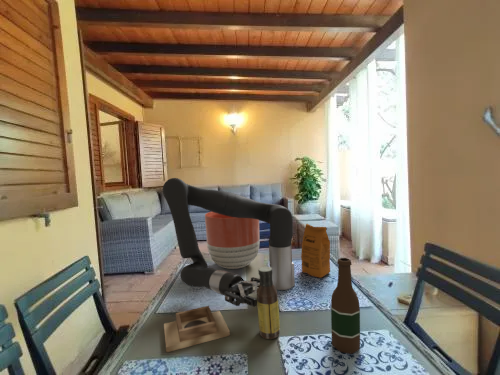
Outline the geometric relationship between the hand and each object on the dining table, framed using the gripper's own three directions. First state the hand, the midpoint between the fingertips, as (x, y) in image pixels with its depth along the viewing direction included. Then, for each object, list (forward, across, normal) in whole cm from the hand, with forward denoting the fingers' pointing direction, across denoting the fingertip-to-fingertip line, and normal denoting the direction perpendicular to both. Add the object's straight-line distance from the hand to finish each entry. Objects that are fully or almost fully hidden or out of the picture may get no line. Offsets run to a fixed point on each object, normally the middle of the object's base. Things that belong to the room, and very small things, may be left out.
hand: (265, 297), depth 79 cm
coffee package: (-8, +49, +11) cm, 51 cm away
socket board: (-18, -12, +11) cm, 24 cm away
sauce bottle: (+1, 0, +11) cm, 11 cm away
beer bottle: (+21, +8, +11) cm, 25 cm away
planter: (-45, +34, +11) cm, 58 cm away
